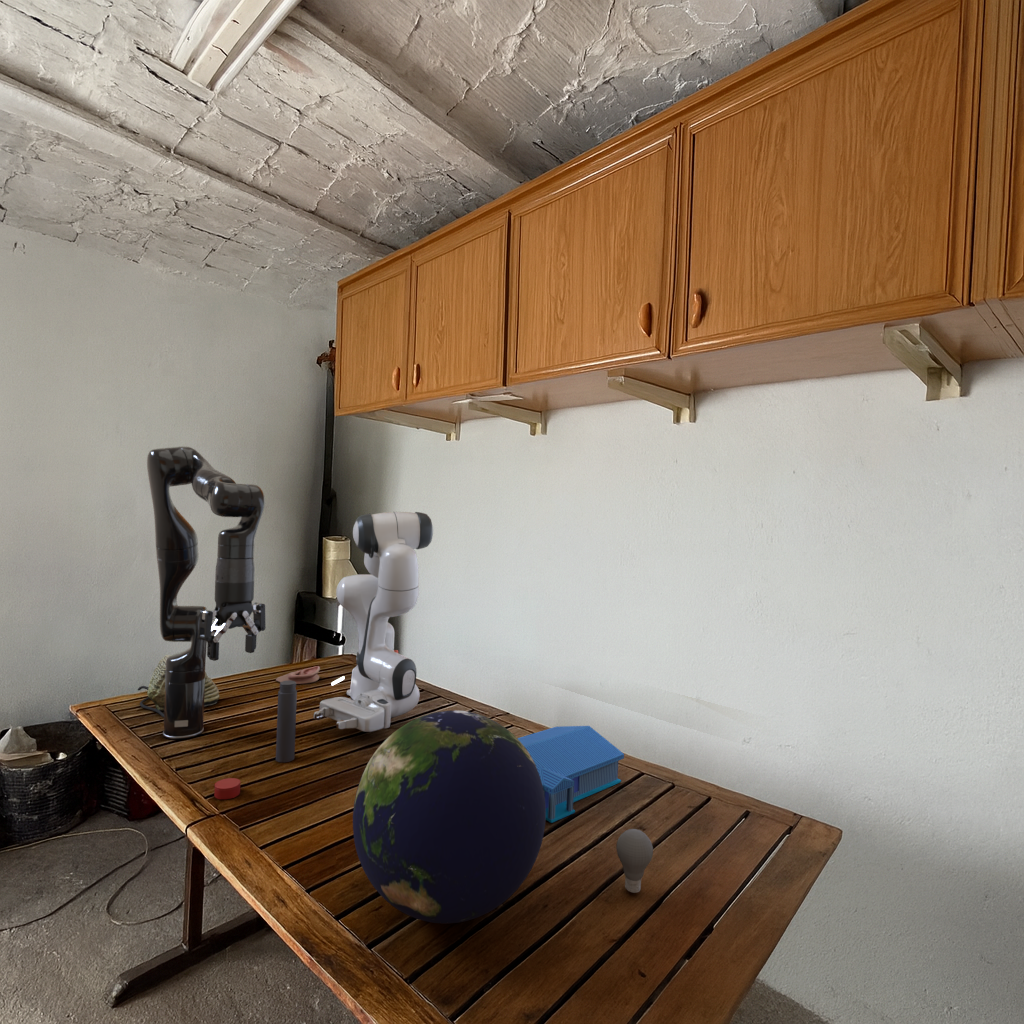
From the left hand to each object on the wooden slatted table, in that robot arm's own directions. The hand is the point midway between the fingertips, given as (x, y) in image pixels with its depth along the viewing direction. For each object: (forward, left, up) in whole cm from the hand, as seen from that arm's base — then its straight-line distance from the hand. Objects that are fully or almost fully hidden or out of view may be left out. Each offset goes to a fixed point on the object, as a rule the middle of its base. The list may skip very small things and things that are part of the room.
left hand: (232, 656), depth 133 cm
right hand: (-12, +28, -23) cm, 38 cm away
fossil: (-62, +9, -29) cm, 70 cm away
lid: (0, 0, -27) cm, 27 cm away
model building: (+39, +52, -29) cm, 71 cm away
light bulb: (+75, +39, -29) cm, 90 cm away
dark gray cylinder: (-10, +17, -29) cm, 35 cm away
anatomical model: (-69, +47, -29) cm, 88 cm away
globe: (+58, +13, -29) cm, 67 cm away
